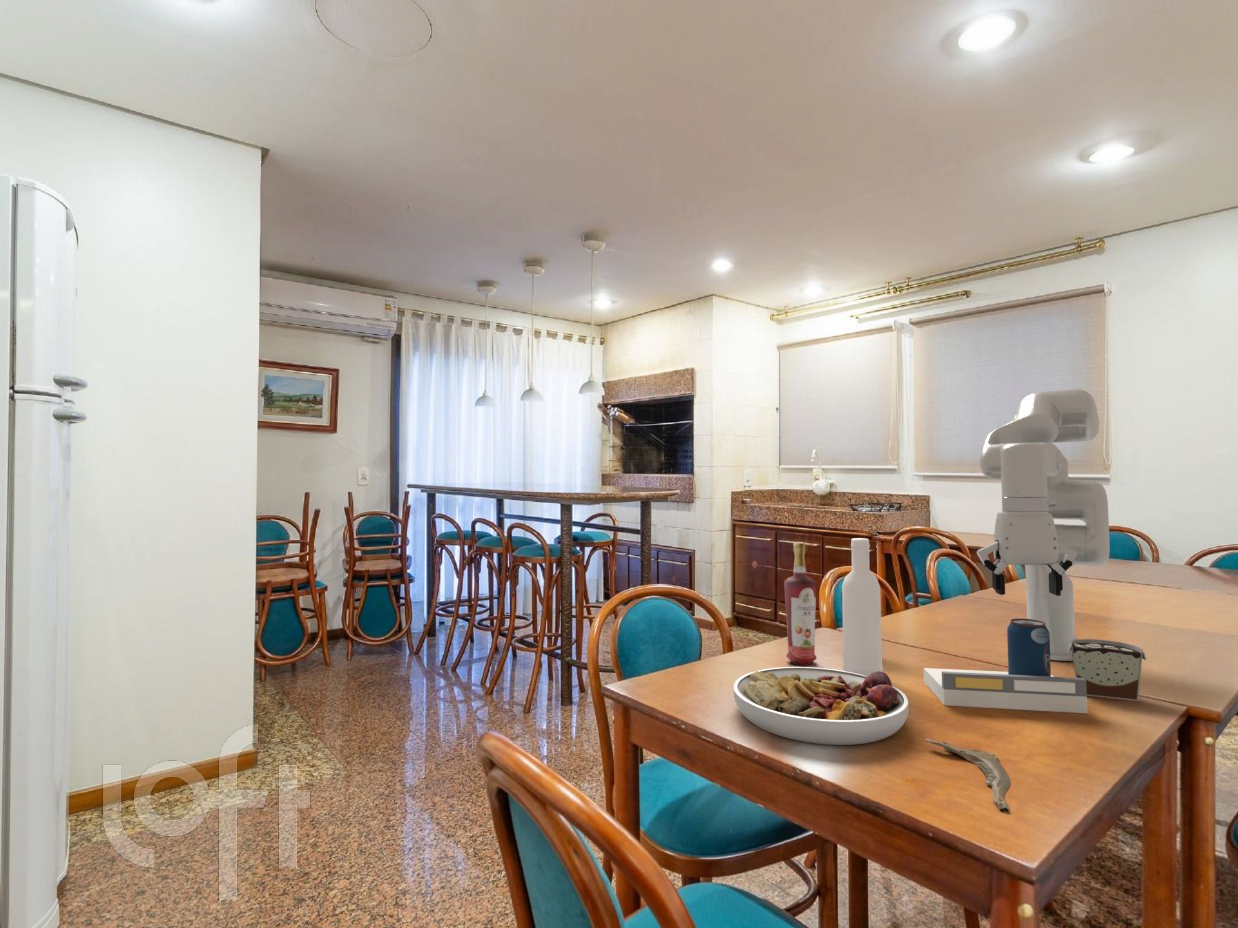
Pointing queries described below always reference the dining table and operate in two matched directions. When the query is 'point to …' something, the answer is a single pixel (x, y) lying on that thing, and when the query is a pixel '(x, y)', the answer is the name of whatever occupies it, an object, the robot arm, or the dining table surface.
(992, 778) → the jawbone
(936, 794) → the dining table surface
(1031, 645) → the soda can
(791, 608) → the liquor
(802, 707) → the bowl
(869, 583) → the bottle
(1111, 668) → the food container
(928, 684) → the display shelf
